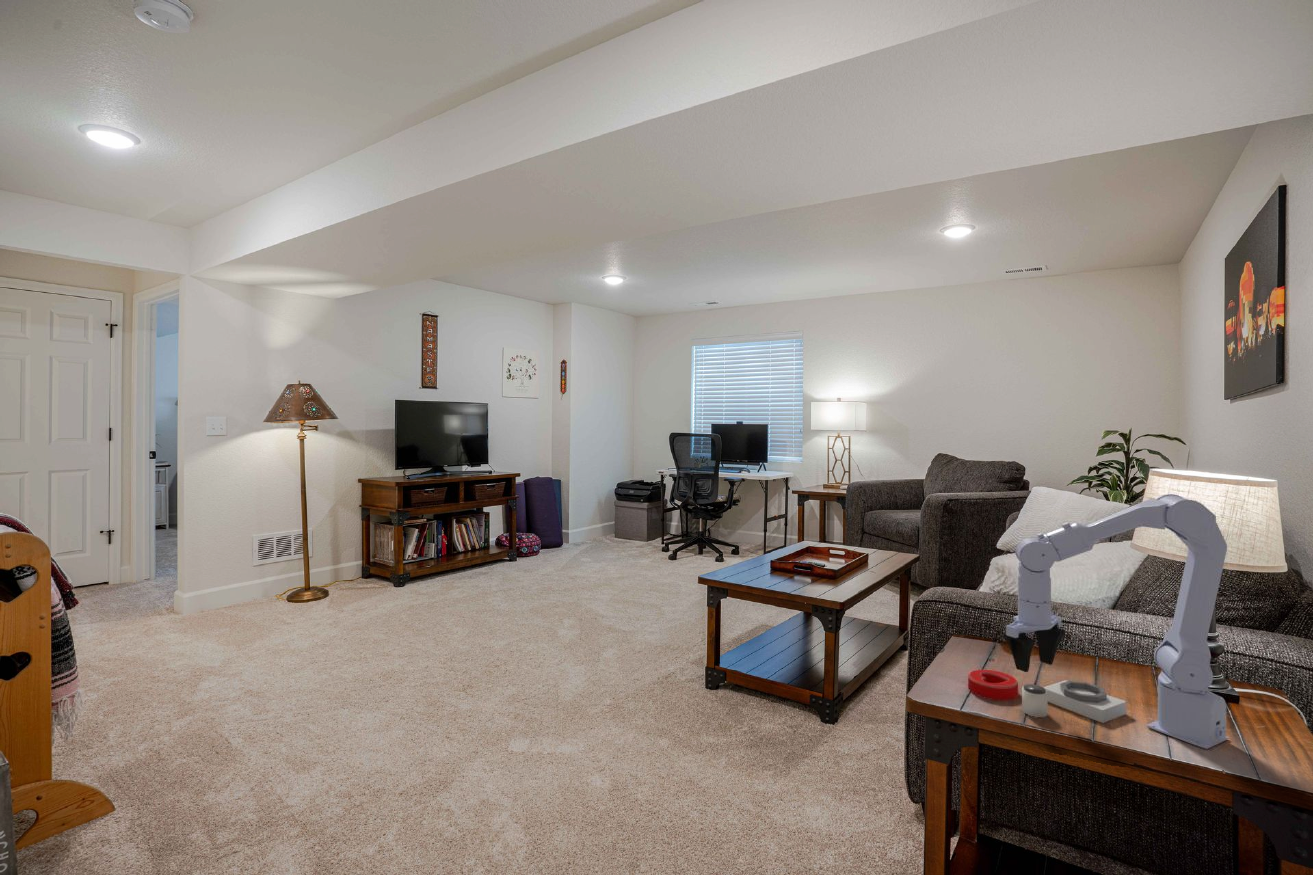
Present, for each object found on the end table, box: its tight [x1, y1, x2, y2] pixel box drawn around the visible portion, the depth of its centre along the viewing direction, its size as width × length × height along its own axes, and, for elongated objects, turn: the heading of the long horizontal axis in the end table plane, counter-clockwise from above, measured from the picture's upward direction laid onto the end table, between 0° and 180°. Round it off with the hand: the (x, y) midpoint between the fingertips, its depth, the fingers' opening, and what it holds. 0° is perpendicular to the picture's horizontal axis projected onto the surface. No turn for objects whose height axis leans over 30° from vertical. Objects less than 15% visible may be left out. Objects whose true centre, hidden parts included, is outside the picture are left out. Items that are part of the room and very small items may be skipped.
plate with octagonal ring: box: [1042, 679, 1127, 724], centre depth 132 cm, size 12×8×4 cm, turn 26°
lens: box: [1021, 683, 1048, 718], centre depth 130 cm, size 4×4×5 cm
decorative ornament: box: [967, 669, 1019, 701], centre depth 140 cm, size 10×10×3 cm
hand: (1034, 666), depth 130 cm, fingers open, 7 cm apart
